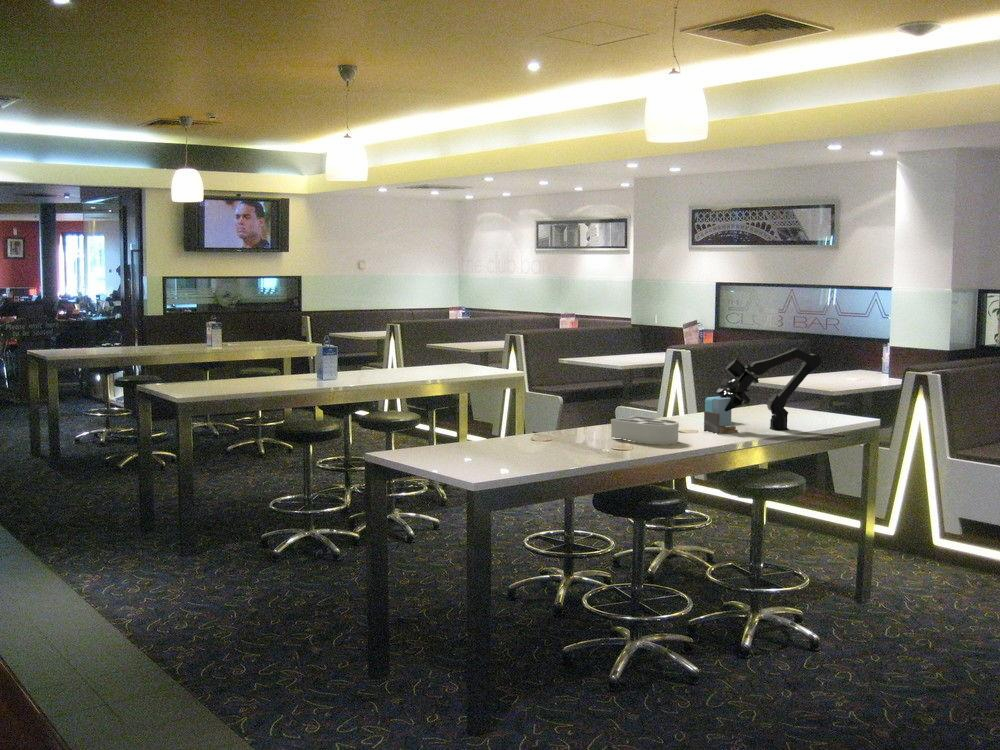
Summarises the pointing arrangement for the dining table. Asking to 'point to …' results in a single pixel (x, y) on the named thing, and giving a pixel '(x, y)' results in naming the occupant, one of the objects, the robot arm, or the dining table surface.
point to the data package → (709, 403)
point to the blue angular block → (722, 410)
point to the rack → (715, 424)
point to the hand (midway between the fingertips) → (722, 410)
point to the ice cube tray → (645, 430)
